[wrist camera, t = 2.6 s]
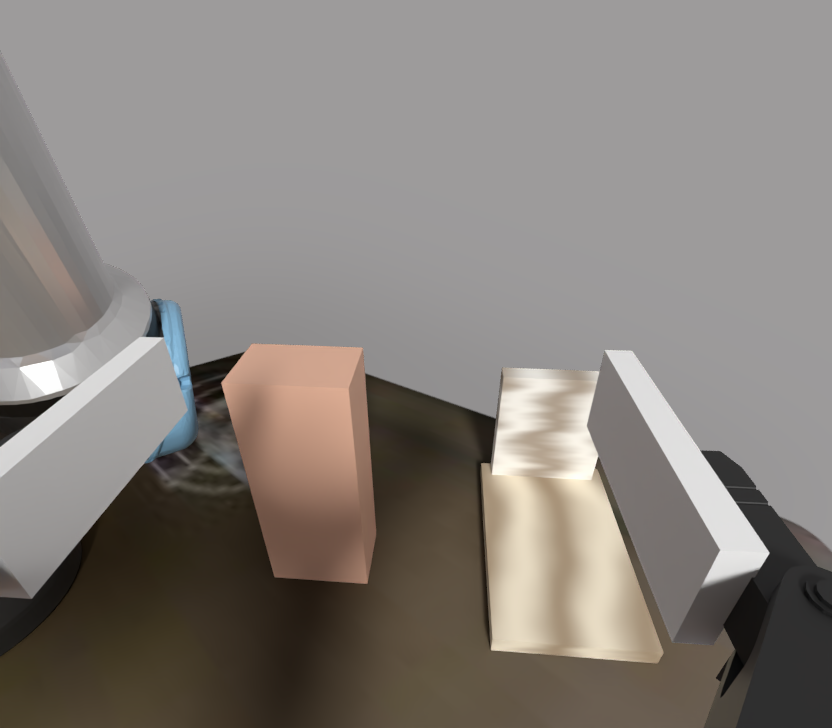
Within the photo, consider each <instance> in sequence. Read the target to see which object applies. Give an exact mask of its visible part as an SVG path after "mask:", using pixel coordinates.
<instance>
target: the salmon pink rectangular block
mask: <svg viewBox="0 0 832 728" xmlns="http://www.w3.org/2000/svg"><path fill="white" fill-rule="evenodd" d="M221 384H222V387H223V391H224V395H225V398H226V402H227V406H228V409H229V413H230V417H231V420H232V424H233V428H234V431H235V435H236V439H237V442H238V446H239V450H240V453H241V457H242V460H243V464H244V468H245V471H246V475H247V479H248V482H249V486H250V490H251V493H252V497H253V501H254V504H255V508H256V512H257V515H258V519H259V523H260V526H261V530H262V534H263V537H264V541H265V545H266V548H267V552H268V556H269V559H270V563H271V567H272V570H273V574H274V577H278V578H292V579H306V580H320V581H333V582H347V583H361V584H367V583H368V578H369V572H370V567H371V561H372V555H373V550H374V544H375V539H376V522H375V508H374V494H373V480H372V466H371V452H370V438H369V425H368V411H367V397H366V383H365V369H364V355H363V348H357V347H329V346H303V345H277V344H251V346H250V347H249V348H248V349H247V351H246V352H245V353H244V354H243V356H242V357H241V358H240V360H239V361H238V362H237V363H236V365H235V366H234V367H233V369H232V370H231V371H230V372H229V374H228V375H227V376H226V377H225V379H224V380H223V381H222V383H221Z"/></svg>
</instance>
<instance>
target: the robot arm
mask: <svg viewBox="0 0 832 728" xmlns="http://www.w3.org/2000/svg"><path fill="white" fill-rule="evenodd" d="M587 428H588V430H589V433H590V435H591V438H592V441H593V443H594V446H595V448H596V451H597V453H598V456H599V458H600V461H601V463H602V466H603V468H604V471H605V473H606V476H607V479H608V481H609V484H610V486H611V489H612V491H613V494H614V496H615V499H616V501H617V504H618V506H619V509H620V512H621V514H622V517H623V519H624V522H625V524H626V527H627V529H628V532H629V534H630V537H631V539H632V542H633V544H634V547H635V550H636V552H637V555H638V557H639V560H640V562H641V565H642V567H643V570H644V572H645V575H646V577H647V580H648V582H649V585H650V588H651V590H652V593H653V595H654V598H655V600H656V603H657V605H658V608H659V610H660V613H661V615H662V618H663V620H664V623H665V626H666V628H667V631H668V633H669V636H670V638H671V641H672V642H675V643H689V644H704V645H714V643H715V642H716V640H717V638H718V637H719V635H720V633H721V632H722V630H723V628H725V630H726V632H727V634H728V636H729V638H730V640H731V642H732V644H733V646H734V648H735V650H734V651H733V653H732V654H731V656H730V657H729V659H728V660H727V662H726V663H725V665H724V666H723V668H722V669H721V671H720V672H719V674H718V675H717V677H716V679H718V680H719V681H721V682H720V685H719V688H718V690H717V693H716V696H715V698H714V701H713V704H712V707H711V709H710V712H709V715H708V718H707V720H706V723H705V726H704V728H832V572H830V571H828V570H825V569H823V568H820V567H817V566H816V564H815V563H814V562H813V560H812V559H811V558H810V556H809V555H808V554H807V553H806V551H805V550H804V549H803V547H802V546H801V545H800V543H799V542H798V541H797V539H796V538H795V537H794V535H793V534H792V533H791V532H790V530H789V529H788V528H787V526H786V525H785V524H784V522H783V521H782V520H781V518H780V517H779V516H778V514H777V513H776V512H775V511H774V509H773V508H772V507H771V506H768V501H767V500H766V499H765V497H764V496H763V495H762V494H761V492H760V491H759V490H756V486H755V485H754V483H753V482H752V480H751V479H750V478H749V476H748V475H747V474H746V473H745V471H744V470H743V469H742V467H740V466H739V465H738V464H736V463H735V462H734V461H732V460H731V459H730V458H728V457H727V456H726V455H724V454H723V453H722V452H720V451H700V450H699V448H698V447H697V445H696V444H695V442H694V441H693V440H692V438H691V437H690V435H689V434H688V433H687V431H686V429H685V428H684V426H683V425H682V423H681V422H680V421H679V419H678V418H677V416H676V415H675V413H674V412H673V410H672V409H671V407H670V406H669V404H668V403H667V401H666V400H665V399H664V397H663V395H662V394H661V393H660V391H659V390H658V388H657V387H656V385H655V384H654V382H653V381H652V379H651V378H650V376H649V375H648V374H647V372H646V371H645V369H644V368H643V366H642V365H641V363H640V362H639V360H638V359H637V357H636V356H635V354H634V353H633V352H632V351H619V350H605V351H604V355H603V359H602V363H601V367H600V372H599V376H598V380H597V384H596V389H595V393H594V397H593V401H592V405H591V410H590V414H589V418H588V422H587ZM197 434H198V421H197V414H196V407H195V401H194V395H193V388H192V381H191V374H190V368H189V361H188V354H187V347H186V340H185V334H184V327H183V321H182V315H181V309H180V307H179V305H178V304H177V303H176V302H174V301H171V300H161V299H153V300H152V301H150V299H149V297H148V295H147V293H146V291H145V290H144V288H143V286H142V285H141V284H140V283H139V282H138V281H137V280H136V279H135V278H134V277H133V276H131V275H130V274H128V273H127V272H125V271H123V270H121V269H119V268H117V267H114V266H112V265H109V264H105V263H103V261H102V259H101V257H100V255H99V253H98V251H97V249H96V246H95V244H94V242H93V241H92V238H91V236H90V234H89V232H88V230H87V228H86V226H85V224H84V222H83V220H82V218H81V216H80V214H79V212H78V209H77V207H76V205H75V203H74V201H73V199H72V197H71V195H70V193H69V191H68V189H67V187H66V185H65V183H64V181H63V179H62V177H61V175H60V172H59V170H58V168H57V166H56V164H55V162H54V160H53V158H52V156H51V154H50V152H49V150H48V148H47V146H46V144H45V142H44V139H43V137H42V136H41V133H40V131H39V129H38V127H37V125H36V123H35V121H34V119H33V117H32V115H31V113H30V111H29V109H28V107H27V105H26V103H25V100H24V98H23V96H22V94H21V92H20V90H19V88H18V86H17V84H16V82H15V80H14V78H13V76H12V74H11V72H10V70H9V68H8V65H7V63H6V61H5V59H4V57H3V55H2V53H1V51H0V656H1V655H3V654H4V653H5V652H7V651H8V650H10V649H11V648H12V647H14V646H15V645H16V644H18V643H19V642H20V641H21V640H22V639H24V638H25V637H26V636H27V635H28V634H30V633H31V632H32V631H33V630H34V629H35V628H36V627H37V626H38V625H39V624H40V623H41V622H42V621H43V620H44V619H45V618H46V617H47V616H48V615H49V614H50V613H51V612H52V611H53V610H54V608H55V607H56V606H57V605H58V603H59V602H60V601H61V600H62V598H63V597H64V595H65V594H66V592H67V591H68V589H69V588H70V586H71V584H72V583H73V581H74V579H75V576H76V574H77V572H78V569H79V566H80V562H81V556H82V548H81V542H80V540H81V539H82V537H83V536H84V535H85V534H86V533H87V531H88V530H89V529H90V528H91V527H92V525H93V524H94V523H95V522H96V521H97V519H98V518H99V517H100V516H101V515H102V513H103V512H104V511H105V510H106V509H107V507H108V506H109V505H110V504H111V502H112V501H113V500H114V499H115V498H116V496H117V495H118V494H119V493H120V492H121V490H122V489H123V488H124V487H125V486H126V484H127V483H128V482H129V481H130V480H131V478H132V477H133V476H134V475H135V473H136V472H137V471H138V470H139V469H140V467H141V466H142V465H143V464H144V463H149V462H152V461H153V460H154V459H155V458H157V457H160V456H164V455H167V454H170V453H173V452H177V451H180V450H183V449H185V448H187V447H188V446H190V445H191V444H192V443H193V442H194V440H195V439H196V437H197Z"/></svg>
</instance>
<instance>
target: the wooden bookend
mask: <svg viewBox="0 0 832 728" xmlns="http://www.w3.org/2000/svg"><path fill="white" fill-rule="evenodd" d="M599 372H600V371H575V370H550V369H525V368H502V372H501V381H500V390H499V398H498V407H497V415H496V424H495V433H494V441H493V450H492V458H491V464H490V463H481V472H480V476H481V493H482V510H483V527H484V544H485V561H486V578H487V595H488V612H489V629H490V646H491V650H497V651H509V652H522V653H534V654H547V655H559V656H572V657H584V658H596V659H609V660H621V661H634V662H646V663H658V662H659V660H660V658H661V656H662V655H663V650H662V647H661V644H660V642H659V639H658V636H657V633H656V631H655V628H654V625H653V622H652V619H651V617H650V614H649V611H648V608H647V606H646V603H645V600H644V597H643V594H642V592H641V589H640V586H639V583H638V581H637V578H636V575H635V572H634V570H633V567H632V564H631V561H630V558H629V556H628V553H627V550H626V547H625V545H624V542H623V539H622V536H621V534H620V531H619V528H618V525H617V522H616V520H615V517H614V514H613V511H612V509H611V506H610V503H609V500H608V498H607V495H606V492H605V489H604V486H603V484H602V481H601V478H600V475H599V473H598V470H597V469H595V465H596V462H597V458H598V453H597V451H596V448H595V446H594V443H593V441H592V438H591V435H590V433H589V430H588V428H587V422H588V418H589V414H590V410H591V405H592V401H593V397H594V393H595V389H596V384H597V380H598V376H599Z"/></svg>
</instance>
